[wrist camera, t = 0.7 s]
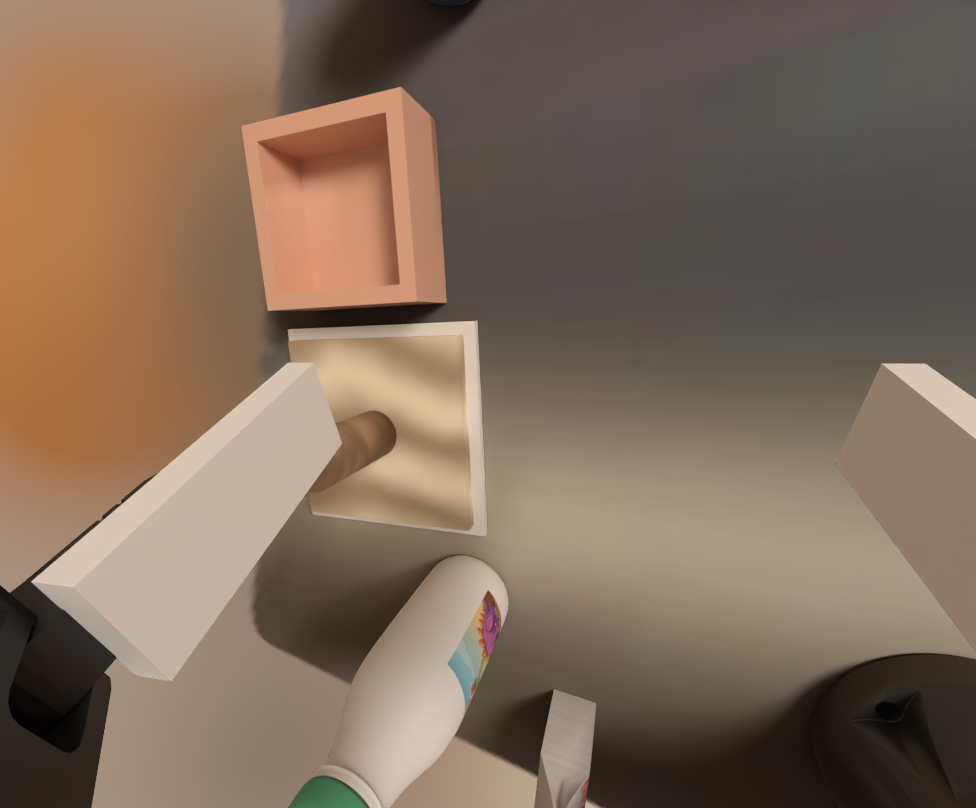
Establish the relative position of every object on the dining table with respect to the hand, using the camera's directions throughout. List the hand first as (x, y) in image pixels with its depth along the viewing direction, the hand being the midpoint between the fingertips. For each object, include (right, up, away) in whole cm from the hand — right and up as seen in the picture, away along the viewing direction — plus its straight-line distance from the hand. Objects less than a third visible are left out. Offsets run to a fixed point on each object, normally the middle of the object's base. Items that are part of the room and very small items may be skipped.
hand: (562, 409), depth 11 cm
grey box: (+6, -29, +28) cm, 40 cm away
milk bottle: (-3, -17, +28) cm, 33 cm away
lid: (-11, -2, +27) cm, 29 cm away
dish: (-12, +15, +24) cm, 30 cm away
